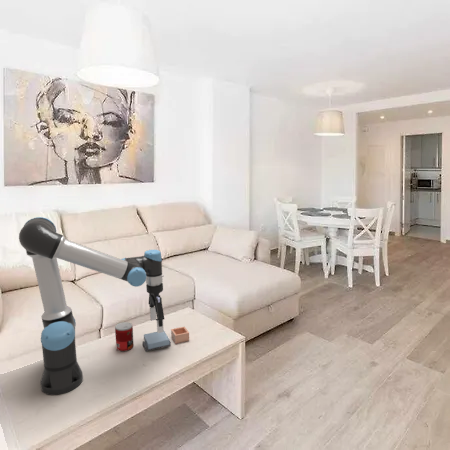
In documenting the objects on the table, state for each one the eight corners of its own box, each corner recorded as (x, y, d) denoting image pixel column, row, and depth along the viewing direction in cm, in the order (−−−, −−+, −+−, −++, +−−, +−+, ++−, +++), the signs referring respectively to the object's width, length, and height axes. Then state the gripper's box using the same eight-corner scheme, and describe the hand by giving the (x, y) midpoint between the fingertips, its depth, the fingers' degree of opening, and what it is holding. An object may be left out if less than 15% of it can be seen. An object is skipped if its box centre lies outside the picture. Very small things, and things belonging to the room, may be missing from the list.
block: (145, 351, 161) (145, 347, 160) (142, 345, 166) (142, 341, 166) (170, 345, 166) (170, 342, 165) (167, 340, 171) (167, 336, 171)
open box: (175, 344, 167) (175, 335, 166) (171, 337, 173) (171, 329, 173) (189, 341, 170) (189, 332, 169) (184, 334, 176) (184, 326, 176)
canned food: (131, 351, 161) (129, 329, 159) (113, 351, 161) (112, 329, 159) (135, 343, 168) (134, 322, 166) (119, 342, 168) (117, 321, 166)
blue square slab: (148, 349, 159) (148, 344, 159) (143, 339, 168) (143, 334, 167) (169, 344, 163) (169, 339, 163) (164, 334, 172) (163, 330, 172)
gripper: (170, 290, 151) (172, 335, 155) (155, 274, 173) (158, 313, 177) (152, 293, 148) (155, 339, 152) (140, 276, 170) (143, 316, 174)
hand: (156, 325), depth 164 cm, fingers open, 13 cm apart
